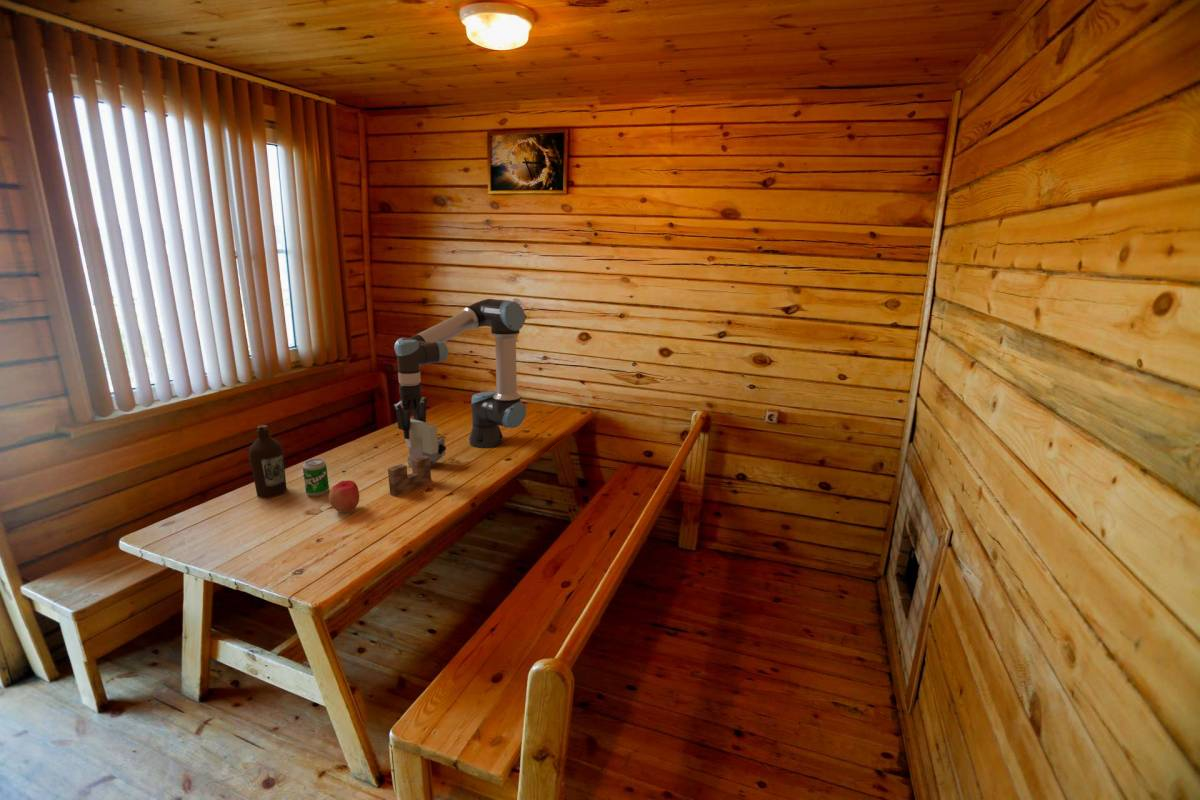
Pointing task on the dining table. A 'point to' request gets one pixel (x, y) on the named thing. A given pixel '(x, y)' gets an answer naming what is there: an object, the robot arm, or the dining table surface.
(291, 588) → the dining table surface
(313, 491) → the soda can
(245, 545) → the dining table surface
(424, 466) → the brown notched flat block
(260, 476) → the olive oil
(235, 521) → the dining table surface
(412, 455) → the circuit breaker
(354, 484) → the apple
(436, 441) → the grey panel
